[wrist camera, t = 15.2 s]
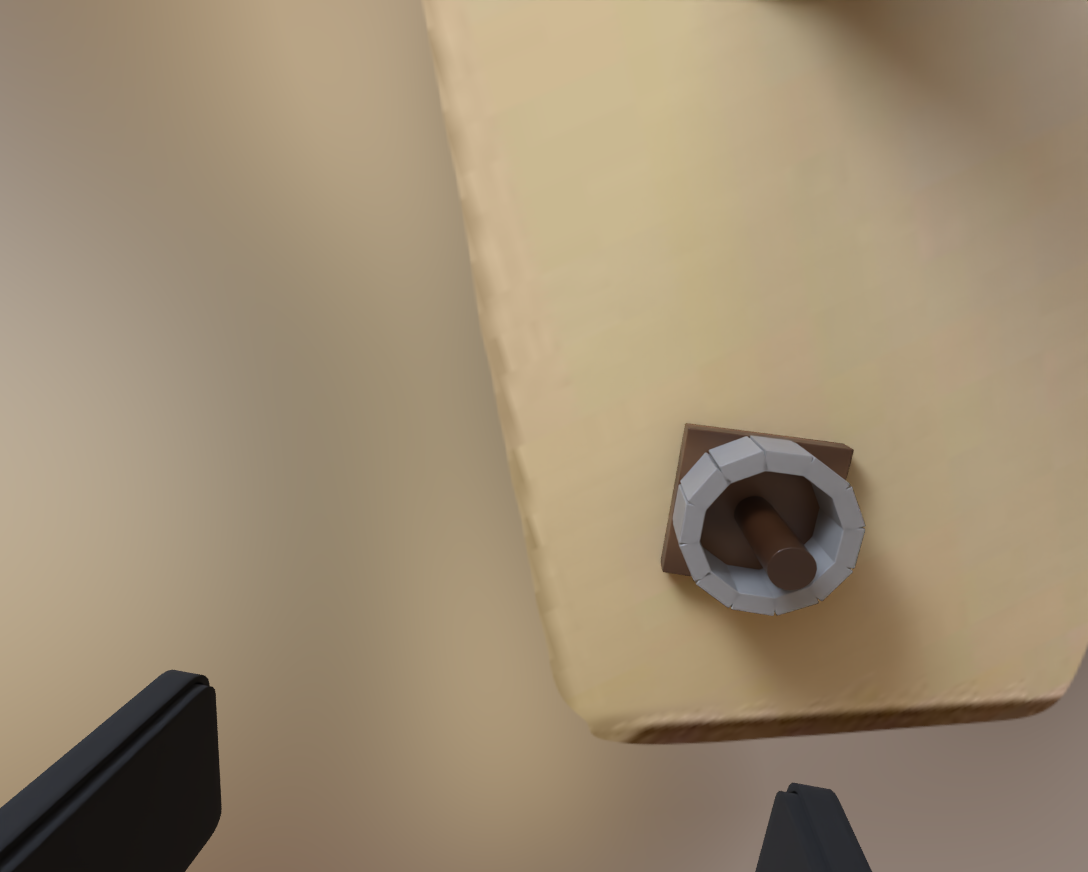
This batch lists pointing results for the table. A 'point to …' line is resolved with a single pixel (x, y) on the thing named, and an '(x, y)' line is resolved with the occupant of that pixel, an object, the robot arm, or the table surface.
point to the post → (756, 511)
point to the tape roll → (828, 545)
